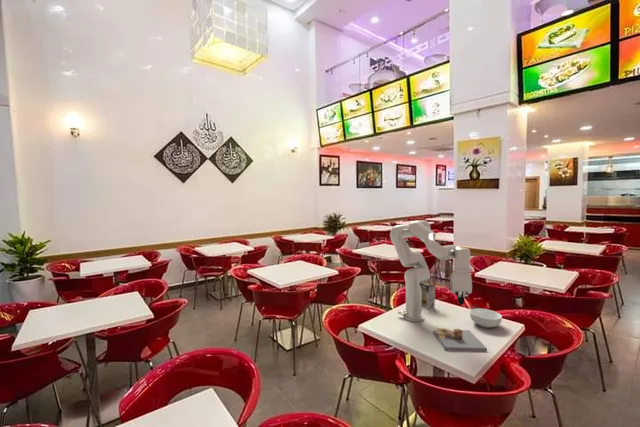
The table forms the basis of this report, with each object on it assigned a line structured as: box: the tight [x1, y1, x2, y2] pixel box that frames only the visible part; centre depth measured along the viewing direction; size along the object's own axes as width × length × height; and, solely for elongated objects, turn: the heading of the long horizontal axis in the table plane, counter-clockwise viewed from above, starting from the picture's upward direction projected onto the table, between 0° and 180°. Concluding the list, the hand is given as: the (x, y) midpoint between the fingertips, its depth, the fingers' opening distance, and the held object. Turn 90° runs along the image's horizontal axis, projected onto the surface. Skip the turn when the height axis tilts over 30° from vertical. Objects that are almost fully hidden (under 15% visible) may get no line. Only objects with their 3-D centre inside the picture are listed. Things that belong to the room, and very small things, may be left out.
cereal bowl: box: [469, 307, 503, 329], centre depth 181 cm, size 17×17×7 cm
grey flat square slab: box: [432, 329, 488, 352], centre depth 161 cm, size 20×20×2 cm
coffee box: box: [419, 281, 436, 310], centre depth 211 cm, size 9×6×16 cm
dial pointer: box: [435, 326, 463, 340], centre depth 163 cm, size 13×4×4 cm, turn 58°
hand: (460, 303), depth 165 cm, fingers closed
